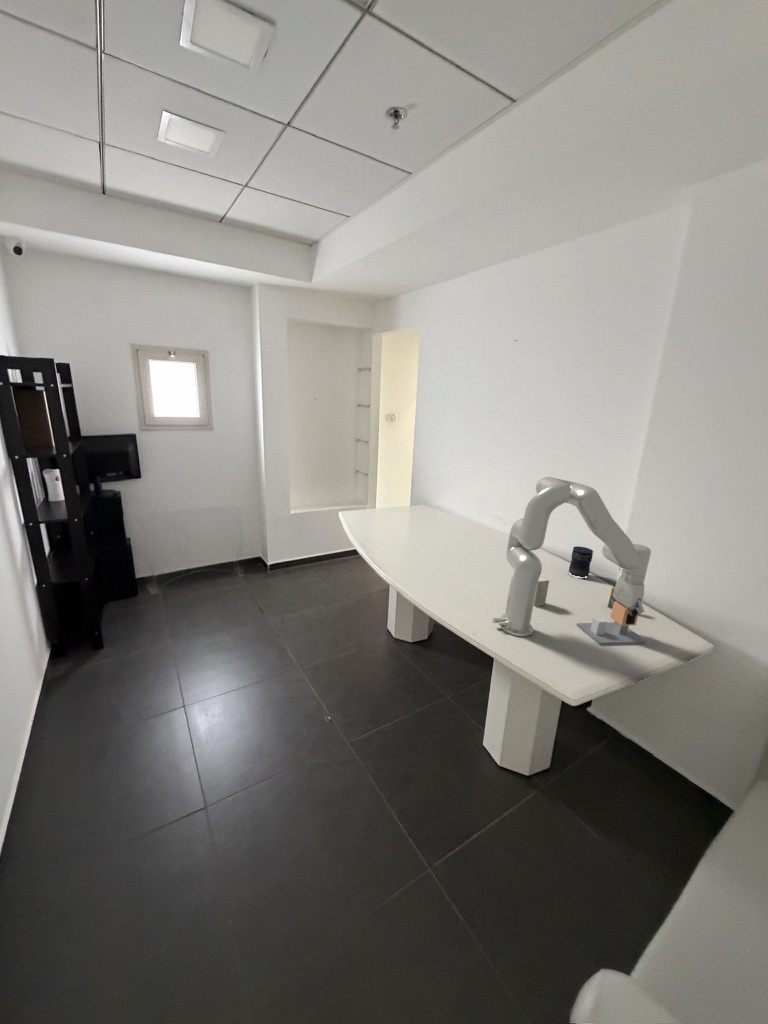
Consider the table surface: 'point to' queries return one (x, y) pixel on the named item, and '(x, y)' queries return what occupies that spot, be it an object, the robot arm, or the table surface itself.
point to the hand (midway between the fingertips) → (623, 618)
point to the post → (620, 628)
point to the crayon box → (611, 597)
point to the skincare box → (541, 591)
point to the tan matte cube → (621, 613)
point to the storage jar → (580, 561)
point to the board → (609, 633)
